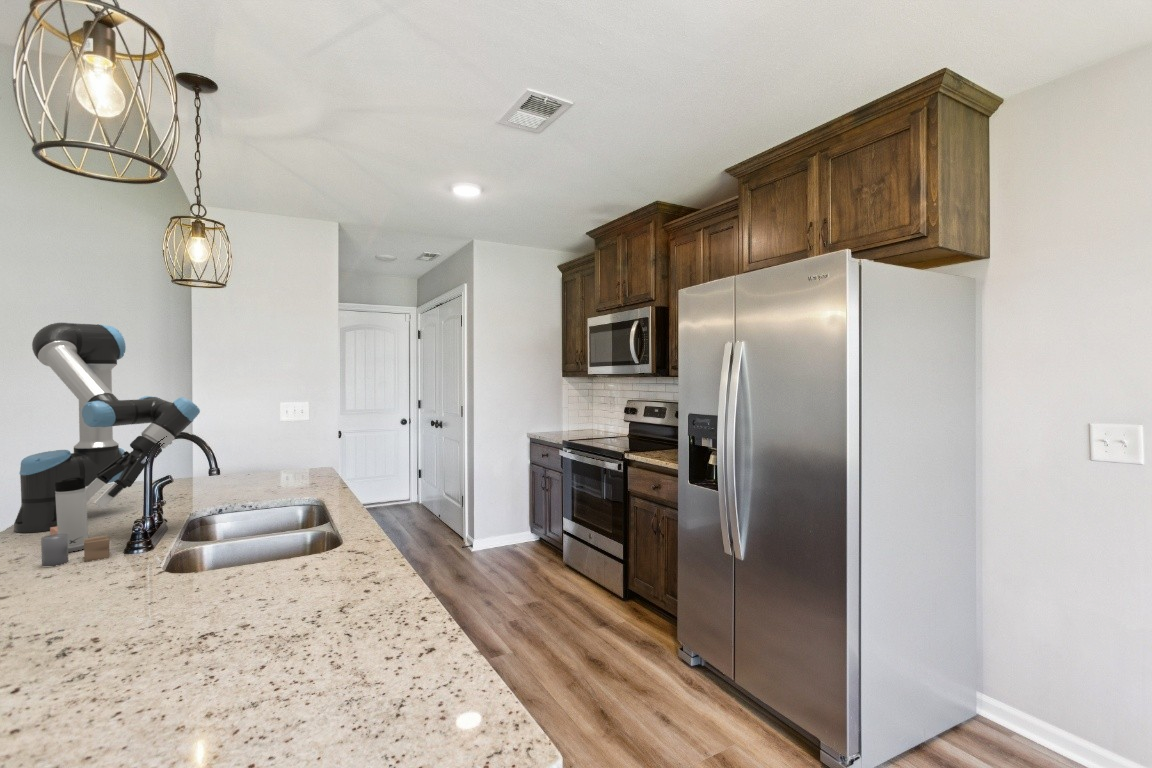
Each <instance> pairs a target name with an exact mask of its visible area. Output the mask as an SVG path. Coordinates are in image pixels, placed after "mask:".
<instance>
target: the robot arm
mask: <svg viewBox="0 0 1152 768" xmlns="http://www.w3.org/2000/svg"><path fill="white" fill-rule="evenodd" d="M32 338H33V339H32V342H31V347H32V348H31V349H32V352H33V355H34V356H35V358H36V359H37V360H38V361H39V362H40V363H41V364H42V365H43V366H46V367H49V368H50V369H51V370H52V371H53V372H54V373H55V374H56V376H57V377H58V378H59V379H60V381H62V382H63V384H65V386H66V387H67V389H68V390H70V392H71V393H72V394H73V395H74V396H75V397H76V399H77V400H78V424H79V425H78V427H79V428H78V429H79V431H78V432H79V441H78V442H77V443H76V444H75V445H74V446H73V452H72V453H71V451H70V450H69V449H57V450H56V449H55V450H48V451H43V452H39V453H35V454H30V455H27V456H26V457H24V458H23V459H22V460H21V461H20V468H19V469H20V470H19V477H20V478H19V479H20V497H21V498H20V499H21V500H20V501H21V504H20V508H19V509H18V512H17V516H16V518H15V519H14V523H13V531H14V532H16V533H20V534H21V533H24V534H25V533H39V532H47V531H50V527H56V526H57V513H56V497H55V494H56V493H55V489H56V488H55V482H61V481H62V480H66V479H71V478H77V477H82V476H85V487H86V489H85V490H86V503H88V501H90V500H91V499H92V497H94V496H95V495H96V493H98V492H99V491H100V490H101V489H102V488H103V487H104V486H105V485H107V484H109V483H110V484H111V483H112V484H111V485H110V486H109V487H108V488H107V489H106V490H105V491H104V492H103V493H102V494H101V495H100V496H99V497H98V498H97V499H96V500H94V502H93V504H95V505H97V506H98V507H100V508H101V509H104V510H105V508H106V507H107V506H109V504H110V503H111V502H112V501H113V500H114V499H115V498H116V497H117V496H118V495H119V494H120V493H121V492H122V491H123V490H124V489H126V488H130V487H132V485H133V484H134V483H135V481H136V480H137V479H138V477H139V476H140V474H141V473H142V472H143V470H144V469H145V468H146V466H147V465H148V464H149V463H150V462H151V461H149V463H148V459H149V458H148V459H147V456H148V453H149V451H150V450H151V448H152V447H153V446H154V445H155V444H156V443H157V442H158V441H160V440H161V439H163V438H164V437H165V438H164V439H163V440H161V441H160V442H159V443H161V444H160V446H161V445H162V444H163V443H165V444H163V445H162V446H161V447H160V449H159V450H158V452H157V454H156V456H155V459H156V458H157V457H158V456H159V455H160V454H161V453H162V452H163V449H166V448H167V447H168V446H169V445H172V444H173V441H174V440H175V439H176V438H177V437H178V436H179V435H180V434H181V433H182V432H183V431H184V430H185V429H186V428H187V427H188V426H189V425H191V423H192V422H194V420H195V419H196V418H197V417H198V416H199V415H200V412H201V409H200V408H199V406H197V404H195V403H194V402H193V401H191V400H190V399H188V398H185V397H178V398H177V399H175V400H174V401H173V402H172V401H171V402H170V401H168V400H166V399H165V400H164V399H162V398H160V397H158V396H151V395H144V396H142V397H140V398H138V399H119V398H118V397H117V396H116V395H115V394H113V383H112V382H113V381H112V380H113V379H112V377H113V376H112V370H114V368H115V367H116V366H117V365H118V361H119V360H121V359H123V357H124V356H125V353H126V350H127V349H126V341H125V337H124V336H123V335H122V333H121V332H120V330H118V328H116V327H114V326H111V325H104V324H93V323H92V324H91V323H90V324H89V323H73V322H72V323H71V322H54V323H50V324H48V325H46V326H44V327H42V328H41V329H39V330H38V331H37V332H36V334H35V335H34V337H32ZM140 424H141V425H142V424H149V425H148V426H147V427H146V428H145V429H144V430H143V431H142V432H140V433H141V435H138V436H136V438H134V439H133V440H132V441H131V443H130V444H129V447H130V448H131V449H132V451H130V452H129V451H127V450H126V451H125V450H124V449H123V448H121V447H120V446H119V444H120V443H118V442H117V441H115V439H114V436H113V435H114V433H113V427H118V426H129V425H140ZM166 436H167V437H166ZM159 443H158V444H159ZM156 446H157V445H156ZM146 459H147V463H146V466H145V462H146Z"/></svg>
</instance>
